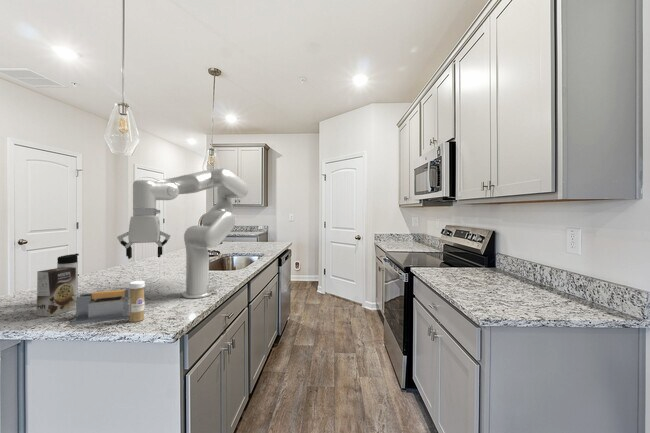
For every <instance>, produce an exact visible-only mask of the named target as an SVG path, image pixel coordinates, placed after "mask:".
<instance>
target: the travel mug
mask: <svg viewBox="0 0 650 433" xmlns="http://www.w3.org/2000/svg"><path fill="white" fill-rule="evenodd" d="M78 256H80V254H79V253H73V254H65V255H61V256H58V257H57V263H56V264H57V267H56V268H61V267H73V268H76V298H77V297H79V282H78V281H79V264H78V263H79V261H78V260H79V259H78Z"/></svg>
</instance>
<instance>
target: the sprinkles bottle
mask: <svg viewBox="0 0 650 433" xmlns="http://www.w3.org/2000/svg"><path fill="white" fill-rule="evenodd" d="M145 283H146V282H145V280H136V281H135V280H134V281H131V282H129V283H128V284H129V285H128V288H130V295H129V296H128V304H129V312H130V318H128V319H129V320H128V321H129V322H131V323H137V322H141V321H143V320H145V287H146V285H145Z"/></svg>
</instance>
